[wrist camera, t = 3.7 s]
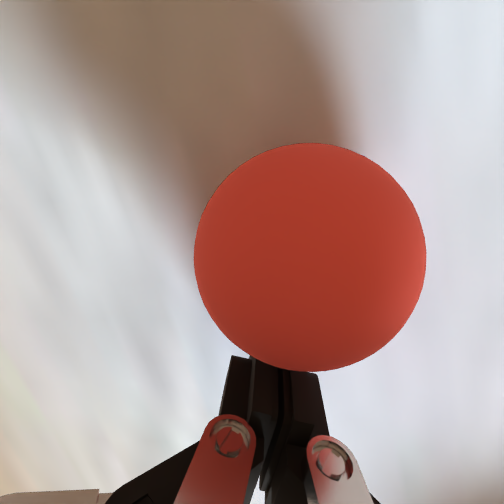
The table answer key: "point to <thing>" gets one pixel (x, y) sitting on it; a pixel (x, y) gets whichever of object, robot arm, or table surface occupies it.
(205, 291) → the ball
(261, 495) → the table surface
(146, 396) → the table surface
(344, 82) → the table surface
